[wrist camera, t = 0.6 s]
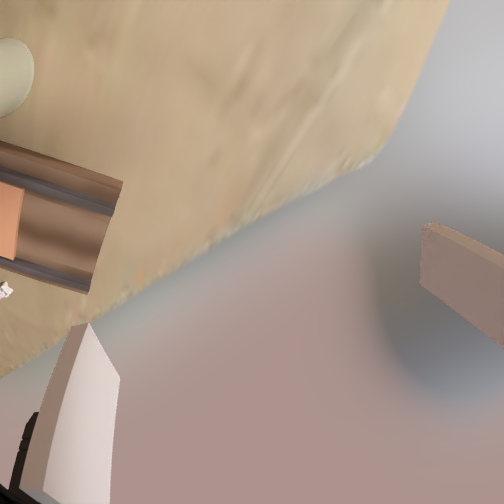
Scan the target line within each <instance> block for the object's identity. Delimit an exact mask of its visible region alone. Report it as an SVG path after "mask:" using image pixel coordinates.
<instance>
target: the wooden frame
mask: <svg viewBox="0 0 504 504" xmlns="http://www.w3.org/2000/svg"><path fill="white" fill-rule="evenodd" d="M0 180H1V181H4V182H7V183H10V184H13V185H16V186H19V187H22V188H25V191H24V196H23V202H22V208H21V214H20V221H19V229H18V237H17V246H16V256H15V258H14V260H11V259H8V258H5V257H2V256H0V268H3V269H6V270H8V271H11V272H14V273H17V274H20V275H23V276H26V277H29V278H32V279H36V280H39V281H42V282H45V283H48V284H52V285H55V286H58V287H62V288H65V289H68V290H72V291H75V292H79V293H82V294H86V295H87V294H88V292H89V289H90V284H91V279H92V276H93V272H94V269H95V265H96V262H97V259H98V255H99V252H100V249H101V246H102V243H103V240H104V237H105V234H106V231H107V228H108V225H109V222H110V219H111V217H112V215H113V213H114V210H115V206H116V202H117V200H118V197H119V194H120V192H121V188H122V184H123V182H122V181H119V180H116V179H114V178H111V177H108V176H105V175H102V174H99V173H96V172H93V171H90V170H87V169H85V168H82V167H79V166H76V165H73V164H70V163H67V162H64V161H61V160H58V159H55V158H52V157H49V156H46V155H43V154H40V153H37V152H34V151H31V150H28V149H25V148H21V147H18V146H15V145H12V144H9V143H6V142H3V141H0Z"/></svg>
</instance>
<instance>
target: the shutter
mask: <svg viewBox="0 0 504 504" xmlns="http://www.w3.org/2000/svg"><path fill="white" fill-rule="evenodd" d="M24 191H25V188H22V187H19V186H16V185H13V184H10V183H7V182H4V181H1V180H0V256H2V257H5V258H8V259H11V260H14V258H15V256H16V246H17V237H18V229H19V221H20V214H21V208H22V202H23V196H24Z"/></svg>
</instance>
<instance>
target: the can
mask: <svg viewBox="0 0 504 504" xmlns="http://www.w3.org/2000/svg"><path fill="white" fill-rule="evenodd" d="M33 79H34V60H33V57H32V54H31V52H30V50H29V48H28V47H27V46H26V45H25V44H24V43H23V42H21V41H20V40H17V39H14V38H3V39H0V118H1V117H4V116H7V115H9V114H11V113H12V112H14V111H15V110H16V109H17V108H18V107H19V106H20V105H21V104H22V103H23V102H24V100H25V99H26V97H27V96H28V94H29V92H30V89H31V86H32V83H33Z"/></svg>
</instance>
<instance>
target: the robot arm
mask: <svg viewBox="0 0 504 504" xmlns="http://www.w3.org/2000/svg"><path fill="white" fill-rule="evenodd" d="M420 284H421V285H422V286H423V287H425V288H426V289H427V290H429V291H430V292H432V293H433V294H434V295H436V296H437V297H439V298H440V299H441V300H442V301H444V302H445V303H446V304H448V305H449V306H450V307H452V308H453V309H454V310H455V311H457V312H458V313H459V314H461V315H462V316H463V317H465V318H466V319H467V320H468V321H470V322H471V323H472V324H473V325H475V326H476V327H477V328H479V329H480V330H481V331H482V332H484V333H485V334H486V335H487V336H489V337H490V338H491V339H492V340H493V341H495V342H496V343H497V344H498V345H499V346H501V347H502V348H503V349H504V255H502V254H500V253H498V252H496V251H495V250H493V249H491V248H488V247H487V246H485V245H483V244H481V243H479V242H477V241H475V240H473V239H471V238H469V237H467V236H464V235H463V234H461V233H458V232H456V231H454V230H452V229H450V228H448V227H446V226H444V225H441V224H439V223H437V222H431V223H428V224H425V225H422V241H421V267H420ZM119 384H120V377H119V375H118V373H117V372H116V370H115V368H114V367H113V365H112V363H111V362H110V360H109V358H108V357H107V355H106V353H105V351H104V350H103V348H102V346H101V344H100V342H99V341H98V339H97V337H96V335H95V333H94V332H93V330H92V328H91V326H90V324H89V322H88V323H84V324H80V325H76V326H72V327H71V329H70V331H69V334H68V336H67V338H66V341H65V343H64V346H63V348H62V350H61V353H60V355H59V358H58V361H57V363H56V366H55V368H54V371H53V373H52V376H51V379H50V382H49V385H48V387H47V390H46V393H45V396H44V399H43V402H42V405H41V408H40V411H39V412H34V414H33V415H32V417H31V418H30V420H29V421H28V423H27V424H26V426H25V429H24V433H23V436H22V439H23V440H22V441H21V443H20V446H19V451H18V453H17V457H16V461H15V465H14V468H13V472H12V477H11V481H10V485H9V489H8V490H7V489H6V488H5V487H3V486H2V485H1V484H0V504H110V480H111V461H112V447H113V436H114V426H115V415H116V407H117V399H118V391H119Z"/></svg>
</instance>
